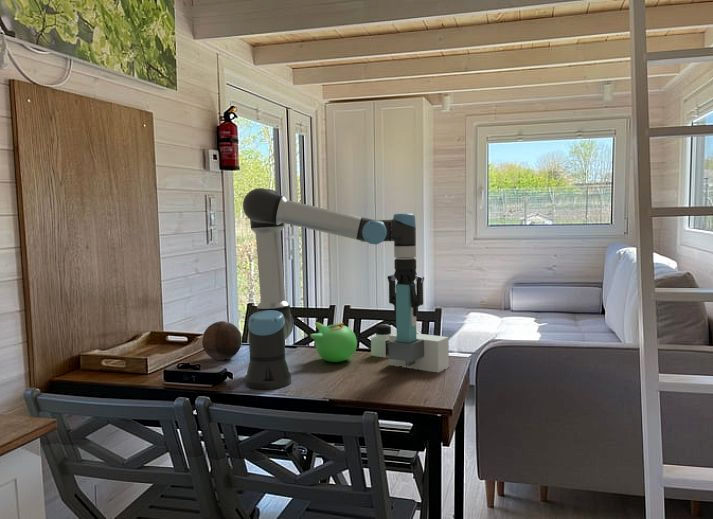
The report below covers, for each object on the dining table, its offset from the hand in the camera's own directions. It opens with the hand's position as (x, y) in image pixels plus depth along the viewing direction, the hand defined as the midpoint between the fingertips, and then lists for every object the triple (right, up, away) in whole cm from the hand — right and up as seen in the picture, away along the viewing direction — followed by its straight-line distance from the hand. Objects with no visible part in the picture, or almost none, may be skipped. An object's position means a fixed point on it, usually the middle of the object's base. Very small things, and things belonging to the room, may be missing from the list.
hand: (406, 324), depth 204 cm
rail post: (0, -6, 0) cm, 6 cm away
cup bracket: (0, -15, +1) cm, 15 cm away
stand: (+5, -16, +8) cm, 19 cm away
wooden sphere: (-69, -16, +24) cm, 75 cm away
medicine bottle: (-7, -15, +26) cm, 31 cm away
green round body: (-26, -16, +18) cm, 35 cm away
